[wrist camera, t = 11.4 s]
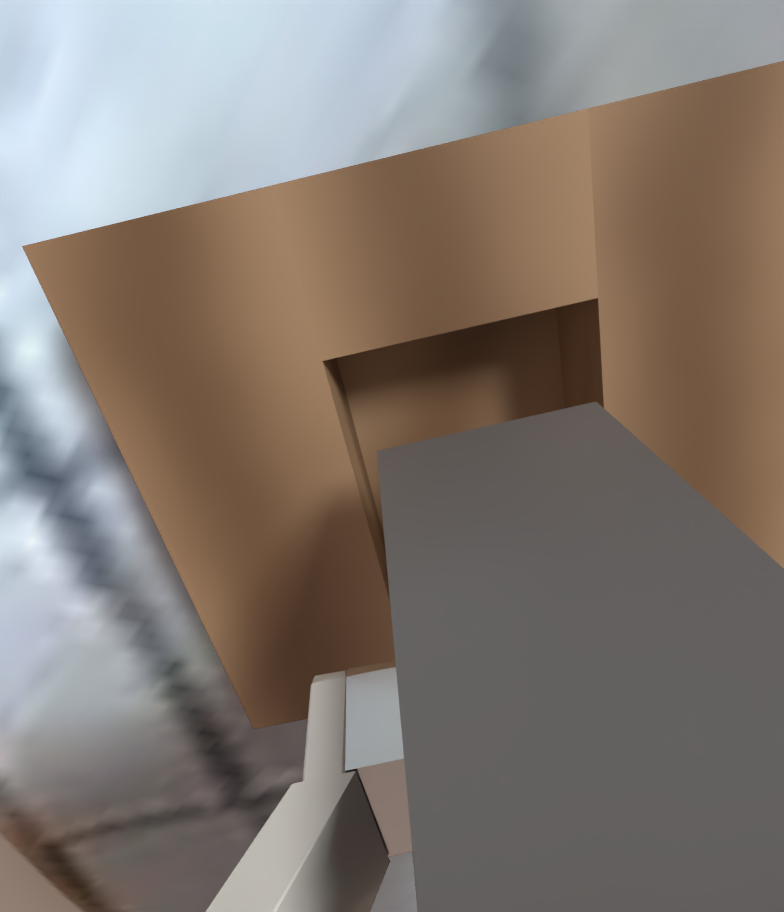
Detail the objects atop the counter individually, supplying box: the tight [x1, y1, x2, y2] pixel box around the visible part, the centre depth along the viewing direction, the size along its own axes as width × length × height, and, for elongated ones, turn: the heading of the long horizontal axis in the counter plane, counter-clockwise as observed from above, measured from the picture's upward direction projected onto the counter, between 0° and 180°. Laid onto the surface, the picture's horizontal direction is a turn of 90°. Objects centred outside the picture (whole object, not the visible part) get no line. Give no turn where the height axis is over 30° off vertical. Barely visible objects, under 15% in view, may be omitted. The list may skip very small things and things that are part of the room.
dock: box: [22, 61, 784, 729], centre depth 15 cm, size 16×14×4 cm
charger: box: [377, 402, 784, 912], centre depth 7 cm, size 4×5×8 cm
